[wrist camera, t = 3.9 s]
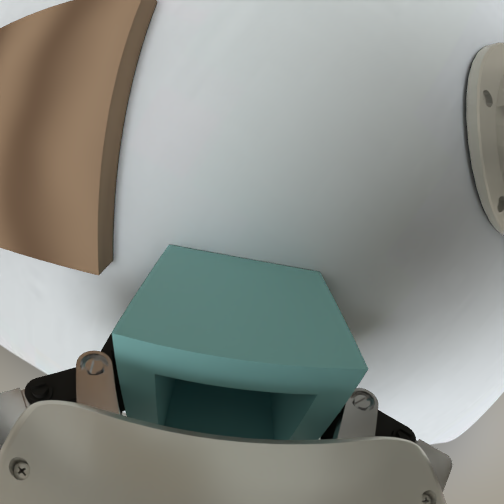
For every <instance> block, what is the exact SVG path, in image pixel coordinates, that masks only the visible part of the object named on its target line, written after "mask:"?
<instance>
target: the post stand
mask: <svg viewBox="0 0 504 504" xmlns="http://www.w3.org/2000/svg"><path fill="white" fill-rule="evenodd" d="M156 4H157V1H156V0H72V1H69V2H65V3H62V4H59V5H56V6H53V7H50V8H47V9H44V10H41V11H39V12H36V13H33V14H31V15H28V16H26V17H24V18H21V19H19V20H17V21H15V22H12V23H10V24H8V25H6V26H4V27H2V28H0V248H3V249H6V250H10V251H13V252H16V253H19V254H22V255H26V256H29V257H32V258H36V259H39V260H43V261H46V262H50V263H53V264H57V265H61V266H64V267H68V268H72V269H76V270H80V271H83V272H87V273H91V274H95V275H100V274H101V273H102V272H103V270H104V269H105V268H106V267H107V266H108V265H109V264H110V263H111V262H112V261H113V220H114V201H115V188H116V177H117V167H118V159H119V151H120V144H121V137H122V131H123V125H124V119H125V114H126V108H127V103H128V99H129V94H130V89H131V85H132V81H133V77H134V73H135V69H136V65H137V61H138V58H139V54H140V51H141V47H142V44H143V41H144V38H145V34H146V31H147V28H148V25H149V23H150V20H151V17H152V14H153V11H154V9H155V6H156Z"/></svg>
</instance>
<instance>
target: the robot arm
mask: <svg viewBox="0 0 504 504" xmlns="http://www.w3.org/2000/svg"><path fill="white" fill-rule="evenodd" d="M466 101H467V115H466V120H467V131H468V144H469V150H470V157H471V165H472V169H473V174H474V178H475V183H476V188H477V191H478V194H479V197H480V200H481V203H482V206H483V208H484V210H485V212H486V214H487V217H488V219H489V221H490V222H491V223H492V225H493V226H494V228H495V229H496V230H497V231H498V232H499V233H501V234H502V235H503V236H504V43H495V44H491V45H487V46H485V47H483V48H482V49H481V50H480V51H479V52H478V53H477V55H476V57H475V59H474V61H473V62H472V66H471V70H470V74H469V77H468V87H467V96H466ZM118 322H119V321H118ZM115 327H116V326H115ZM112 332H113V331H112ZM122 411H125V406H124V402H123V397H122V393H121V388H120V383H119V377H118V372H117V366H116V360H115V353H114V346H113V339H112V333H111V335H110V336H109V338H108V340H107V342H106V343H105V345H104V347H103V348H102V350H101V352H100V351H88V352H85V353H83V354H82V355H81V356H79V358H78V359H77V363H76V367H75V368H72V369H68V370H65V371H61V372H58V373H54V374H50V375H47V376H43V377H39V378H35V379H33V380H31V381H30V382H29V383H28V384H27V386H26V387H25V389H24V390H20V388H17V389H14V390H10V391H6V392H2V393H0V504H446V501H445V498H444V495H443V490H444V487H445V485H446V482H447V480H448V477H449V474H450V472H451V469H452V461H451V459H450V457H449V456H448V455H447V454H445V453H443V452H441V451H439V450H437V449H436V448H434V447H432V446H431V445H429V444H427V443H425V442H424V441H422V440H420V439H419V440H418V441H416V437H415V434H414V432H413V431H412V430H411V429H410V428H408V427H407V426H405V425H403V424H402V423H400V422H398V421H396V420H395V419H393V418H391V417H389V416H388V415H386V414H384V413H383V412H381V411H379V410H378V400H377V398H376V396H375V395H374V394H373V393H371V392H370V391H368V390H366V389H363V388H356V389H355V390H354V392H353V393H352V395H351V396H350V398H349V399H348V401H347V402H346V404H345V405H344V407H343V408H342V409H341V411H340V412H339V413H338V415H337V416H336V418H335V419H334V420H333V422H332V423H331V424H330V426H329V427H328V428H327V429H326V431H325V432H324V433H323V435H322V436H321V437H320V438H319V440H272V439H253V438H241V437H231V436H222V435H214V434H207V433H200V432H194V431H188V430H183V429H177V428H172V427H167V426H163V425H158V424H154V423H150V422H146V421H142V420H138V419H134V418H130V417H126V416H123V412H122Z"/></svg>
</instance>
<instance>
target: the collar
mask: <svg viewBox="0 0 504 504" xmlns="http://www.w3.org/2000/svg"><path fill="white" fill-rule="evenodd" d="M112 339H113V346H114V353H115V360H116V366H117V372H118V377H119V383H120V388H121V393H122V397H123V402H124V406H125V411H126V415H127V417H130V418H134V419H138V420H142V421H146V422H150V423H154V424H158V425H163V426H167V427H172V428H177V429H183V430H188V431H194V432H200V433H207V434H214V435H222V436H231V437H241V438H253V439H272V440H319V438H320V437H321V436H322V435H323V433H324V432H325V431H326V429H327V428H328V427H329V426H330V424H331V423H332V422H333V420H334V419H335V418H336V416H337V415H338V413H339V412H340V411H341V409H342V408H343V407H344V405H345V404H346V402H347V401H348V399H349V398H350V396H351V395H352V393H353V392H354V390H355V389H356V387H357V386H358V384H359V383H360V381H361V380H362V378H363V377H364V375H365V373H366V372H367V370H368V367H367V365H366V363H365V361H364V359H363V357H362V355H361V353H360V350H359V348H358V346H357V344H356V342H355V340H354V338H353V336H352V334H351V332H350V330H349V328H348V326H347V324H346V322H345V320H344V318H343V316H342V314H341V312H340V310H339V308H338V306H337V304H336V302H335V300H334V298H333V296H332V294H331V292H330V290H329V289H328V287H327V285H326V283H325V281H324V279H323V277H322V275H321V273H320V272H318V271H313V270H307V269H301V268H296V267H290V266H284V265H279V264H273V263H268V262H262V261H256V260H251V259H245V258H240V257H234V256H229V255H223V254H218V253H212V252H207V251H201V250H196V249H191V248H185V247H180V246H175V245H169V246H168V247H167V249H166V250H165V251H164V253H163V254H162V256H161V257H160V259H159V260H158V262H157V263H156V264H155V266H154V267H153V269H152V270H151V272H150V273H149V275H148V276H147V278H146V279H145V281H144V282H143V284H142V285H141V287H140V288H139V290H138V292H137V293H136V295H135V296H134V298H133V299H132V301H131V302H130V304H129V306H128V307H127V309H126V310H125V312H124V314H123V315H122V317H121V318H120V320H119V322H118V323H117V325H116V327H115V328H114V330H113V332H112Z"/></svg>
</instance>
